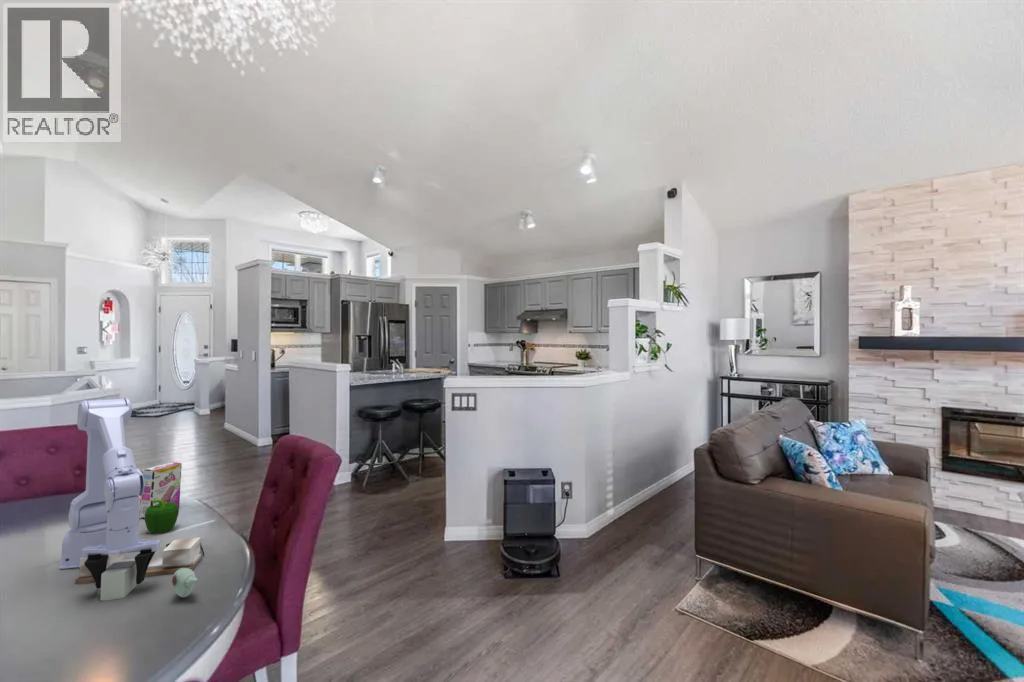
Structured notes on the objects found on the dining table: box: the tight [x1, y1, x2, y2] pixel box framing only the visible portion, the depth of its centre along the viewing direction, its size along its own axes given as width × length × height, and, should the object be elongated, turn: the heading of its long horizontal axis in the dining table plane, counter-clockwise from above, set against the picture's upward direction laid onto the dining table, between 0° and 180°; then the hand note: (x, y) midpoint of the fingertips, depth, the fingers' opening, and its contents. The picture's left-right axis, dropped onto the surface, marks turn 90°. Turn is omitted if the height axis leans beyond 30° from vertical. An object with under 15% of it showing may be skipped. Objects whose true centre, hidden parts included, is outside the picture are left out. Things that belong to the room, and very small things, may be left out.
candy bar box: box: [139, 462, 183, 519], centre depth 155 cm, size 11×5×16 cm, turn 172°
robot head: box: [171, 568, 199, 598], centre depth 103 cm, size 8×4×7 cm, turn 57°
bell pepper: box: [144, 499, 180, 534], centre depth 141 cm, size 8×8×10 cm
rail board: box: [74, 537, 204, 585], centre depth 116 cm, size 24×8×6 cm, turn 107°
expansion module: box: [99, 558, 139, 601], centre depth 105 cm, size 4×7×6 cm, turn 17°
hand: (120, 584), depth 105 cm, fingers open, 7 cm apart
